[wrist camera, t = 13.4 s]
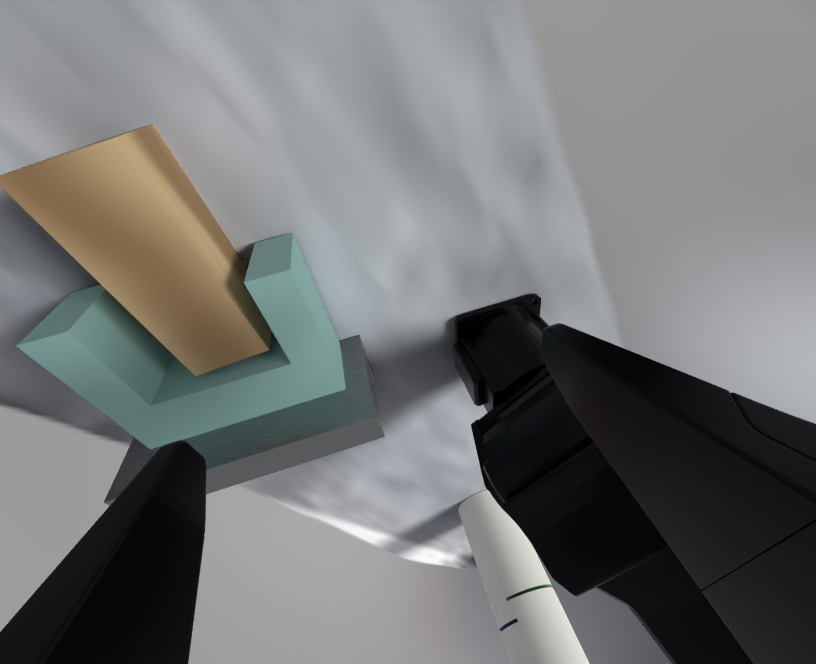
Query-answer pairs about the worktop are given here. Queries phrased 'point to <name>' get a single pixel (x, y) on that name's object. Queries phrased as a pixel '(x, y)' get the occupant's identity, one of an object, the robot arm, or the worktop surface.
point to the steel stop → (280, 432)
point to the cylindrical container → (518, 587)
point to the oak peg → (148, 244)
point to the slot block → (173, 382)
